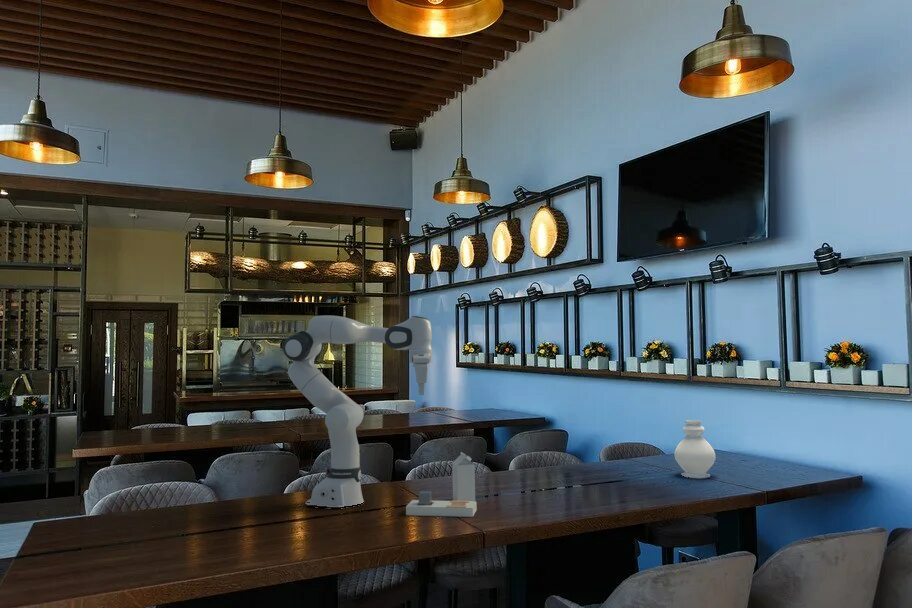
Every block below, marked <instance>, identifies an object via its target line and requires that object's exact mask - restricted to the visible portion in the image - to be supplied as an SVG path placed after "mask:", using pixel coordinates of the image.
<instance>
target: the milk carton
mask: <svg viewBox="0 0 912 608" xmlns="http://www.w3.org/2000/svg"><path fill="white" fill-rule="evenodd" d="M471 460H472V457H470V456H469V455H466V454H465V453H464V452H462V451H460V455H459V456H458V457H457V458H455V460H454V461H452V465H451V466H452V467H451V468H452V500H459V501H476V480H475V479H476V473H475V472H476V471H475V469H476V468H475V464H474V462H472V461H471Z"/></svg>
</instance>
